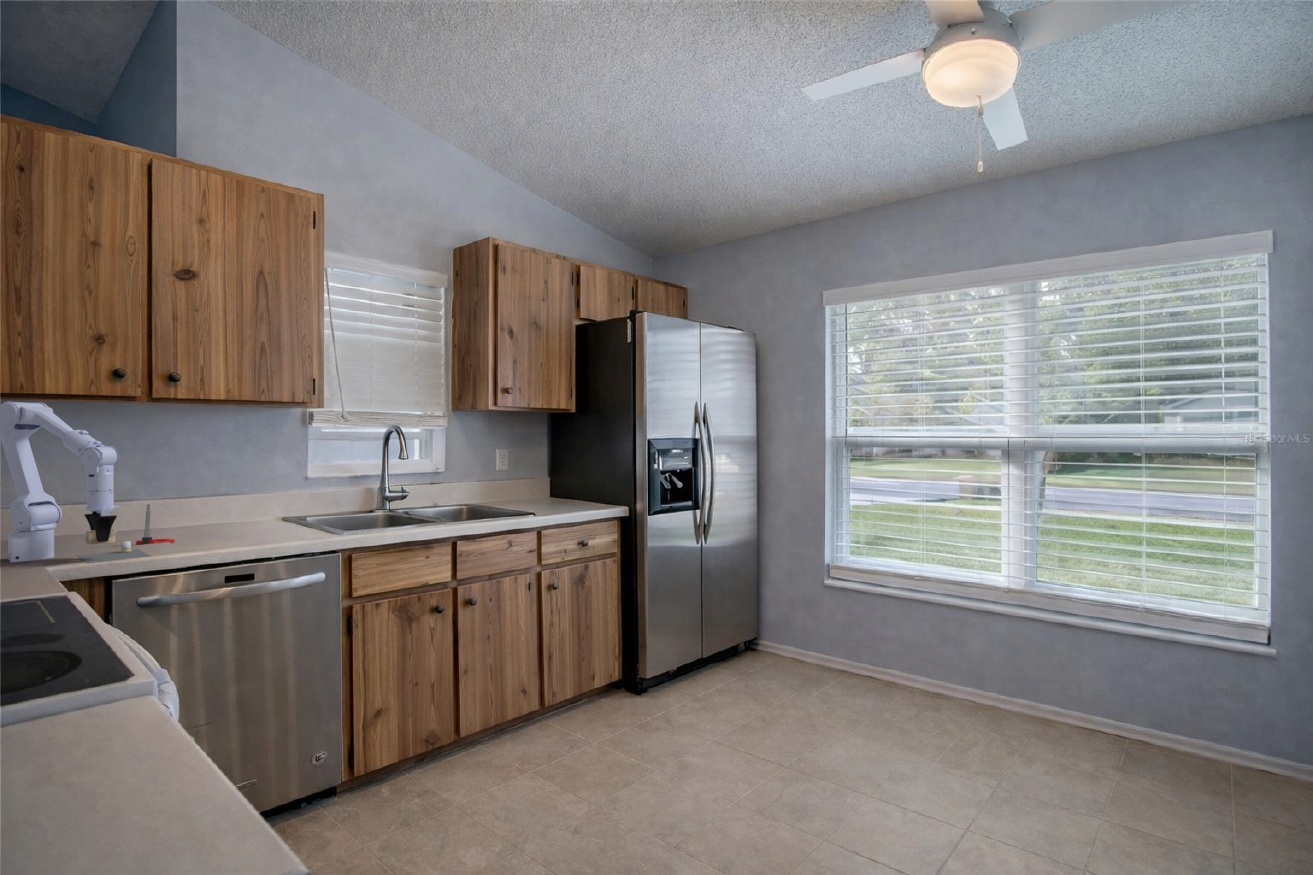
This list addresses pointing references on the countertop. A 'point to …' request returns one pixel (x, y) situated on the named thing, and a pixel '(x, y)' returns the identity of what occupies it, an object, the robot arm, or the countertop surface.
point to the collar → (91, 538)
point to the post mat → (114, 554)
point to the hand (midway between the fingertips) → (100, 540)
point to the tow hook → (147, 538)
